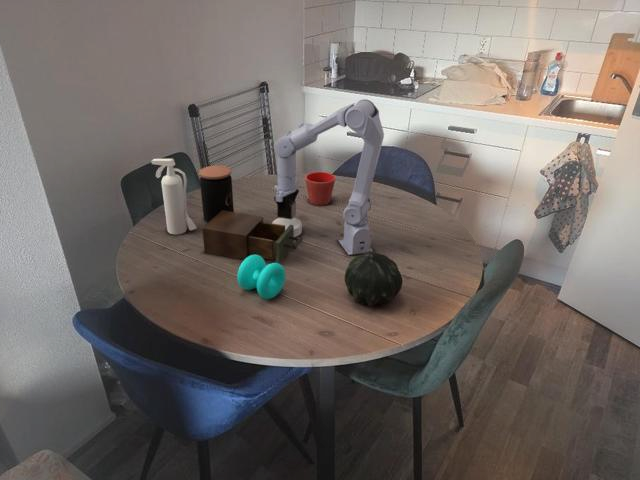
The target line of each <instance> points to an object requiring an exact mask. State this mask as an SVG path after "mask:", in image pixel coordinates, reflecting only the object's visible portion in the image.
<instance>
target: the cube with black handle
mask: <svg viewBox="0 0 640 480" xmlns="http://www.w3.org/2000/svg"><path fill="white" fill-rule="evenodd" d="M276 209H277V210H276V211H277V218H284V219H291V220H292V219H293V218H295V216H297V201H296V200H295V201H291V203H290V206H289V213H288V217H287V218H285V217H281V215H280V211H279V208H278V205H277V204H276Z"/></svg>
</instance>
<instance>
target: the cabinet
mask: <svg viewBox="0 0 640 480" xmlns="http://www.w3.org/2000/svg"><path fill="white" fill-rule="evenodd" d="M261 222H265V216H260V215H256V214H255V215H254V214H249V213H243V212H236V211H234V212H230V211H224V210H222V211H221V212H220V213H219V214H218V215H216V216H215V217H214V218H213V219H212V220H211V221H210V222H209V223H207V222H206V224H205V225H204V226H203V227H202V228H201V229H202V239H203V249H204V254H210V255H214V256H220V257H226V258H231V259H236V260H241V261H244V260H245V259H246V258H247V257H248V256H250V255H248V241H247V237H248V236H249V235H250V233H251V232H252V231H253V230H254V229H255V228H256V227H257V226H258V225H259V224H260V223H261Z"/></svg>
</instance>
